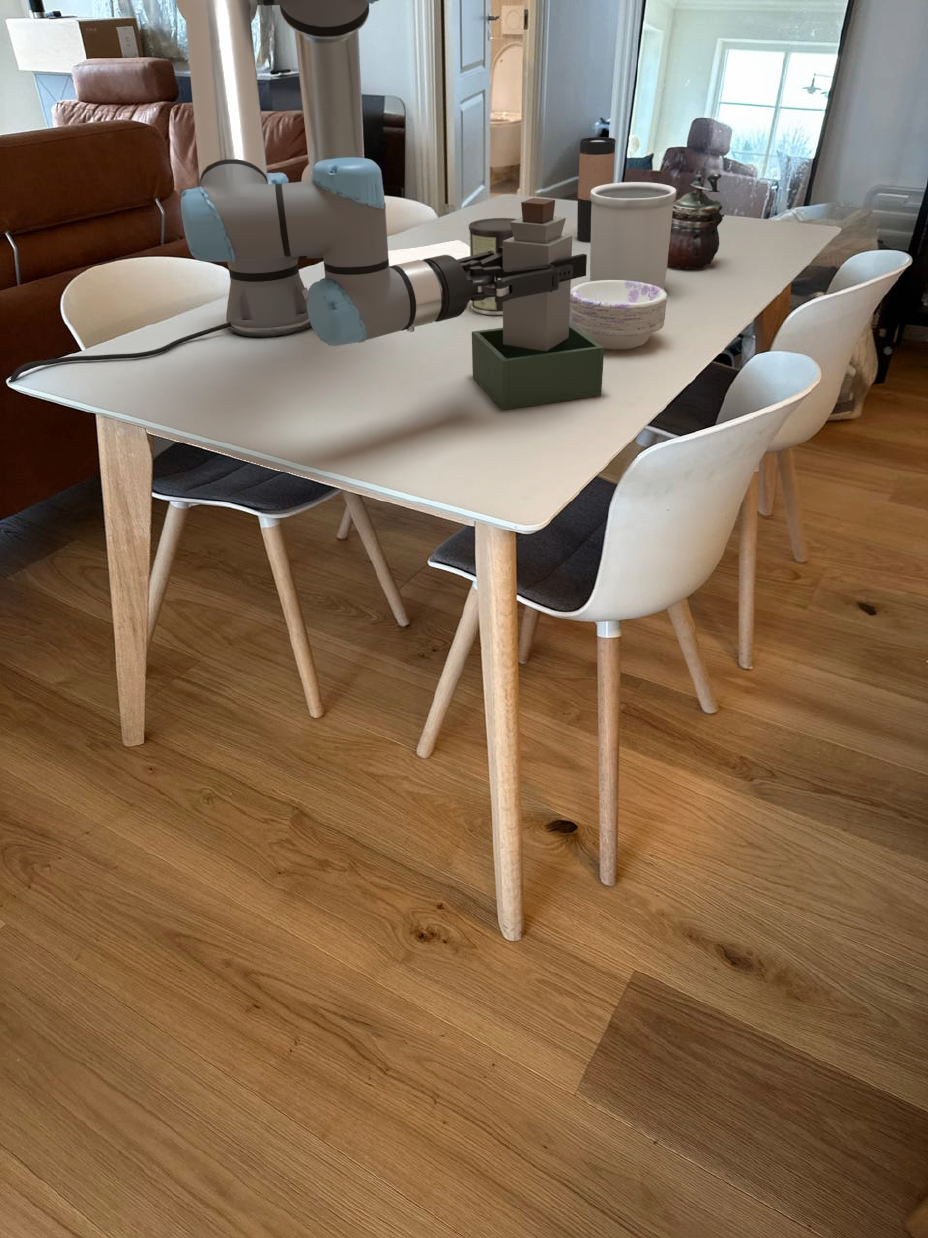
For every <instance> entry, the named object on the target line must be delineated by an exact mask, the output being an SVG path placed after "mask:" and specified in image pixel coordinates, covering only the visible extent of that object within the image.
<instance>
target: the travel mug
mask: <svg viewBox="0 0 928 1238" xmlns="http://www.w3.org/2000/svg"><path fill="white" fill-rule="evenodd" d="M616 142H617V140H616V139H615V138H614V137H607V136H593V137H583V138H581V139H580V143H579V160H578V180H577V181H578V182H577V213H576V214H577V217H576V218H577V223H576V224H577V227H576V234H577V235H576V237H577V238H576V239H577V240H578V241H580V242H584V243H591V207H592V202H591V199H590V192H591V190H592V189H593V188H595V187H597V186H601V185H606V184H612V183H614V180H615V179H614V178H615V176H614V175H615V160H616Z"/></svg>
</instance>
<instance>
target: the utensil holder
mask: <svg viewBox="0 0 928 1238" xmlns="http://www.w3.org/2000/svg"><path fill="white" fill-rule="evenodd" d="M676 197H677V189H676V188H675V187H674V186H671V185H668V184H664V183H657V182H649V181H648V182H647V181H628V182H626V181H623V182H613V183H612V184H606V185H601V186H597V187H595V188H593V189H592V190H591V192H590V199H591V202H592V207H591V242H590V247H589V248H590V250H589V251H590V252H589V282H591V281H600V280H625V281H635V282H642V283H647V284H651V285H654V286H657V287H659V288H661V289H663V290H664V291H665V287H666V278H667V270H668V266H667V262H668V252H669V242H670V233H671V223H672V213H673V202H674V200H676Z"/></svg>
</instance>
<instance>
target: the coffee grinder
mask: <svg viewBox="0 0 928 1238" xmlns="http://www.w3.org/2000/svg"><path fill="white" fill-rule="evenodd" d="M720 178H722V174H720V173H711V174H710V175H708V176H707V178H706V180H707V181H708V182H709V184H710V186H711V188H708V187H704V186H703V182H702V181H703V176H702V174H695V175H694V181H693V182H692V183H690V186H691V187H693V190H692V191H690V192H688V193H686V194H683V196H681V198H678V199H676V198H675V200H674V202H673V213H672V223H671V233H670V242H669V252H668V262H667V267H676V268H679V269H682V270H686V269H700V270H702V269H705V267H706V266H708V265H711V263H712V261H713V260H714V258H715V256H716V254H717V253H718V251H719V249H720V248H719V247H720V234H719V229H718V226H719V225H720V224H721V223H722V221H723V220H724V219H723V218H724V217H725V213H722V214H721V213H720V211H721V210H722V209H723V205H722V204H721V203H722V202H720V201H719V200H717V199H712V198H709V197H708V196H707V194H705V193H704V192H703V191H704V190H705V191H707V192H708V193H721V191H720V190H718V181H719V180H720Z"/></svg>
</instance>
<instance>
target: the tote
mask: <svg viewBox="0 0 928 1238" xmlns="http://www.w3.org/2000/svg"><path fill="white" fill-rule="evenodd" d="M604 357H605V349H604V347H603V346H601V345H600V344H599V343H597V342H596V341H594V340H593V339H592V338H590V337H589V336H587V335H586V334H585V333H583V332H582V331H581V330H579V329H578V328H576V327H575V326H574V325H572V324H571V323H570V322H569V338H567V339H565V340H564V341H562V342H561V343H559V344H557V345H556V346H554V347H552V348H551V349H549V350H548V351H541V350H535V349H529V348H523V347H517V346H511V345H505V344H503V327H497V328H488V329H481V330H474V331H471V359H472V362H471V363H472V364H471V365H472V366H471V367H472V378H473V379H474V380H475V381H476V382H477V383H478V385H479V386H480V387H481V388H482V389H483V390H484V391H485V392H486V394H488V395H489V397H490V398H491V399H492V400H493V401H494V402H495V403H496V404H497V405H498V407H500V409H501V410H502V411H505V410H506V411H507V410H513V409H519V408H526V407H532V406H540V405H545V404H553V403H558V402H565V401H566V402H567V401H573V400H579V399H587V398H594V397H598V396H599V397H600V396H602V390H603V373H604Z"/></svg>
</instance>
